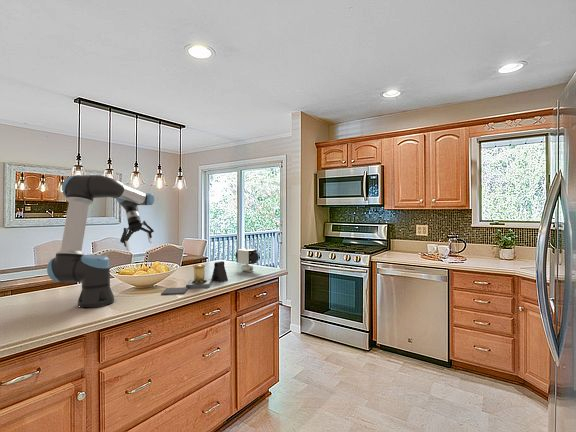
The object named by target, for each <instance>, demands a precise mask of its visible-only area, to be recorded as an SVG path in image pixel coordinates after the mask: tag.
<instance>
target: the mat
mask: <svg viewBox="0 0 576 432" xmlns="http://www.w3.org/2000/svg"><path fill="white" fill-rule="evenodd" d="M189 289H190V288H189V287H186V286H184V287H183V286H182V287H166V288H165V289H164V290H162V292H161V293H160V295H161V296H171V295H173V294H174V295H185V294H186V293H187V291H188V290H189ZM174 295H173V296H174Z"/></svg>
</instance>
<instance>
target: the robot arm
mask: <svg viewBox="0 0 576 432" xmlns="http://www.w3.org/2000/svg"><path fill="white" fill-rule="evenodd" d="M61 184H62V185H61V191H62V194H63V196H64V197H65V201H67V202H68V206H67V210H66V211H67V212H66V216H65V217H66V218H65V223H64V229H63V233H62V234H63V235H62V239H61V247H60V250H59V251H57V252H56V254H55V257H54V258H53V257H52V258H51V259H50V261H48V263H47V266H46V272H47V276H48V277H49V278H50V280H52V281H53V282H56V283H62V284H63V283H81V291H80V293H79V296H78V300H77V307H78V306H80V307H95V308H99V307H98V306H102V307H104V306H103V305H106V306H108V305H107V304H109V305H111V304H110V303H112V304H113V303H114V302H115V296H114V293H113V290H112V287H111V265H110V264H111V263H110V259H109V257H108V256H106V255H103V254H85V253H83V252H82V250H83V243H84V240H85V239H84V238H85V232H86V225H87V220H88V213H89V208H90V207H89V206H90V205H92V204H93V203H94V199H98V198H99V199H101V198H113V199H115V200H116V202H117V203H118V204H119V205H120V206H121V207H122V208H123V209H124V210H125V214H126V218H127V219H126V220H127V225H128V227H123V231H122V232H123V233H122V235H121V238H120V239H119V243H121V244H123V246H124V247H125V249H126V251H128V252H130V251H131V248H130V243H129V240H130V238H131V237H132V235H133V234H134V233H136V232H139V231H143V232H144V233H146V235H147V238H148V242H149V244H152V243H153V242H152V238H153V236H152V233H154V232H155V230H154V229H153V228H152V227H150V225H148V224H147V221H146V220H143V222H141V221H142V220H141V216H140V212H139V206H153V205H154V204H155V196H154V194H153V193H149V192H148V193H144V192H142V191H140V190H137V189H134V188H132V187H129V186H128V185H125V184H123V183H122V182H121V181H119V180H117V179H116V178H115V179H114V178H112V177H109V176H105V175H101V174H100V175H99V174H93V175H92V174H91V175H90V174H89V175H83V174H81V175H80V174H75V175H70V176H68V177H66V178H65V179H64V180H63V182H62V183H61ZM143 226H144V227H146V228H144V227H143ZM80 307H79V308H80Z"/></svg>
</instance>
